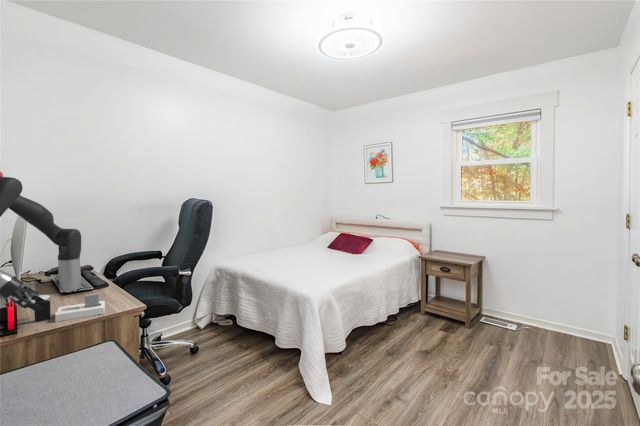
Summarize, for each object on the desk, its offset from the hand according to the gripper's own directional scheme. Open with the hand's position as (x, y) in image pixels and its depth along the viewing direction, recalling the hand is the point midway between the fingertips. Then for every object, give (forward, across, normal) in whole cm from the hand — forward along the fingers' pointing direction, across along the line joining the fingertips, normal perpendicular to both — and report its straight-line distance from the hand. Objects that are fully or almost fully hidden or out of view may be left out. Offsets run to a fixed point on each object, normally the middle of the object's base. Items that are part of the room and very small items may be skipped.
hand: (42, 306), depth 132 cm
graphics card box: (+5, +57, +3) cm, 57 cm away
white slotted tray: (+13, 0, -5) cm, 14 cm away
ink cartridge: (+4, 0, +4) cm, 6 cm away
